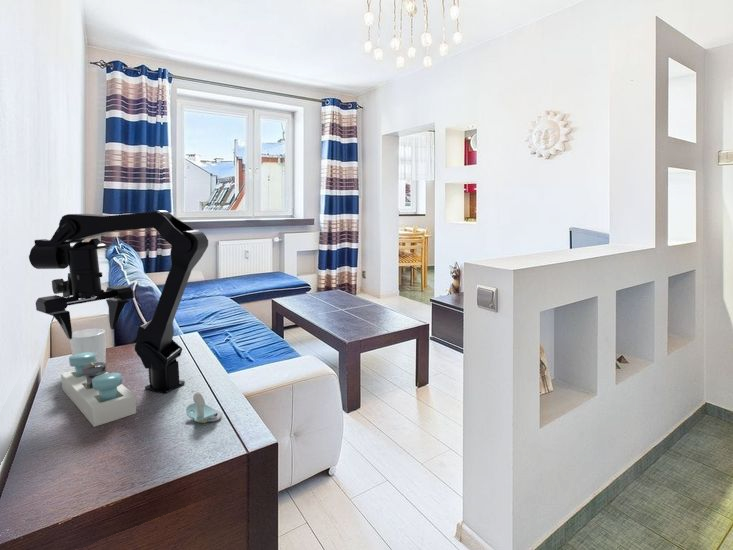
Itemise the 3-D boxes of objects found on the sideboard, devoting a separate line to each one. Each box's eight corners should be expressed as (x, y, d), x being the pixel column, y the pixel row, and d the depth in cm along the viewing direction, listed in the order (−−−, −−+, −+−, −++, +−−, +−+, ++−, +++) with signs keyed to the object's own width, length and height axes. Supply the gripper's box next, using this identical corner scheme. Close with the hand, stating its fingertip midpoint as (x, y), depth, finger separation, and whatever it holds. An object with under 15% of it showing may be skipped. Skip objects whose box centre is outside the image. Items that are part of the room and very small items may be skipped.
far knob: (100, 374, 100) (98, 356, 99) (74, 380, 96) (72, 361, 96) (93, 368, 104) (91, 350, 103) (68, 374, 100) (66, 356, 99)
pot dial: (110, 385, 94) (108, 364, 93) (86, 392, 91) (84, 370, 90) (104, 379, 97) (102, 359, 96) (80, 385, 94) (78, 364, 93)
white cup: (106, 361, 118) (103, 326, 116) (109, 370, 112) (106, 333, 110) (72, 367, 113) (68, 331, 112) (73, 377, 107) (69, 339, 106)
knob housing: (136, 413, 89) (135, 395, 88) (94, 426, 83) (92, 407, 83) (99, 379, 106) (98, 364, 105) (62, 389, 100) (60, 373, 99)
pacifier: (210, 408, 92) (183, 417, 88) (209, 381, 91) (182, 389, 87) (228, 419, 87) (200, 430, 83) (227, 391, 86) (200, 399, 82)
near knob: (126, 398, 88) (125, 377, 87) (98, 406, 84) (96, 384, 84) (118, 390, 92) (116, 370, 91) (90, 398, 88) (88, 377, 87)
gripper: (109, 261, 109) (116, 320, 112) (21, 271, 94) (31, 338, 97) (132, 264, 103) (138, 326, 106) (41, 275, 88) (51, 347, 91)
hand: (92, 333), depth 100 cm, fingers open, 9 cm apart
